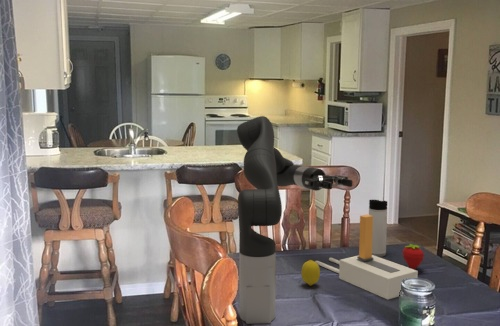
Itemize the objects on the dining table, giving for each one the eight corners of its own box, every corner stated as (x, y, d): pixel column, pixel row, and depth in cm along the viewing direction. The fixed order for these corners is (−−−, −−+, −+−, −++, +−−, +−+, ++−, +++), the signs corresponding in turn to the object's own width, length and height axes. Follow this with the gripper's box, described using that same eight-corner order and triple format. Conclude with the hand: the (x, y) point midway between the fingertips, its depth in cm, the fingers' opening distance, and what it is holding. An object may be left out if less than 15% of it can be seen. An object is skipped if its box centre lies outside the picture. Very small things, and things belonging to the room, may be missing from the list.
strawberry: (412, 275, 168) (413, 244, 167) (397, 267, 175) (398, 238, 174) (427, 272, 170) (429, 242, 169) (412, 265, 177) (413, 236, 176)
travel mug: (364, 255, 188) (366, 199, 185) (371, 250, 193) (373, 196, 191) (381, 258, 185) (383, 201, 182) (388, 253, 190) (390, 198, 187)
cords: (359, 271, 171) (359, 268, 171) (342, 276, 167) (342, 272, 167) (330, 260, 183) (330, 256, 183) (314, 263, 179) (314, 260, 179)
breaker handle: (373, 259, 163) (374, 216, 161) (365, 261, 161) (367, 217, 159) (365, 256, 166) (366, 214, 164) (357, 258, 164) (358, 215, 162)
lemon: (304, 281, 163) (305, 255, 162) (322, 284, 160) (322, 258, 159) (298, 287, 158) (298, 261, 157) (316, 290, 156) (316, 263, 154)
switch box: (417, 290, 155) (417, 270, 154) (387, 299, 148) (388, 278, 148) (367, 271, 172) (367, 252, 171) (339, 278, 165) (339, 259, 164)
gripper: (293, 168, 179) (324, 175, 166) (325, 165, 187) (358, 171, 173) (292, 190, 180) (324, 198, 167) (325, 186, 188) (357, 194, 174)
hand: (341, 184), depth 170 cm, fingers open, 8 cm apart
